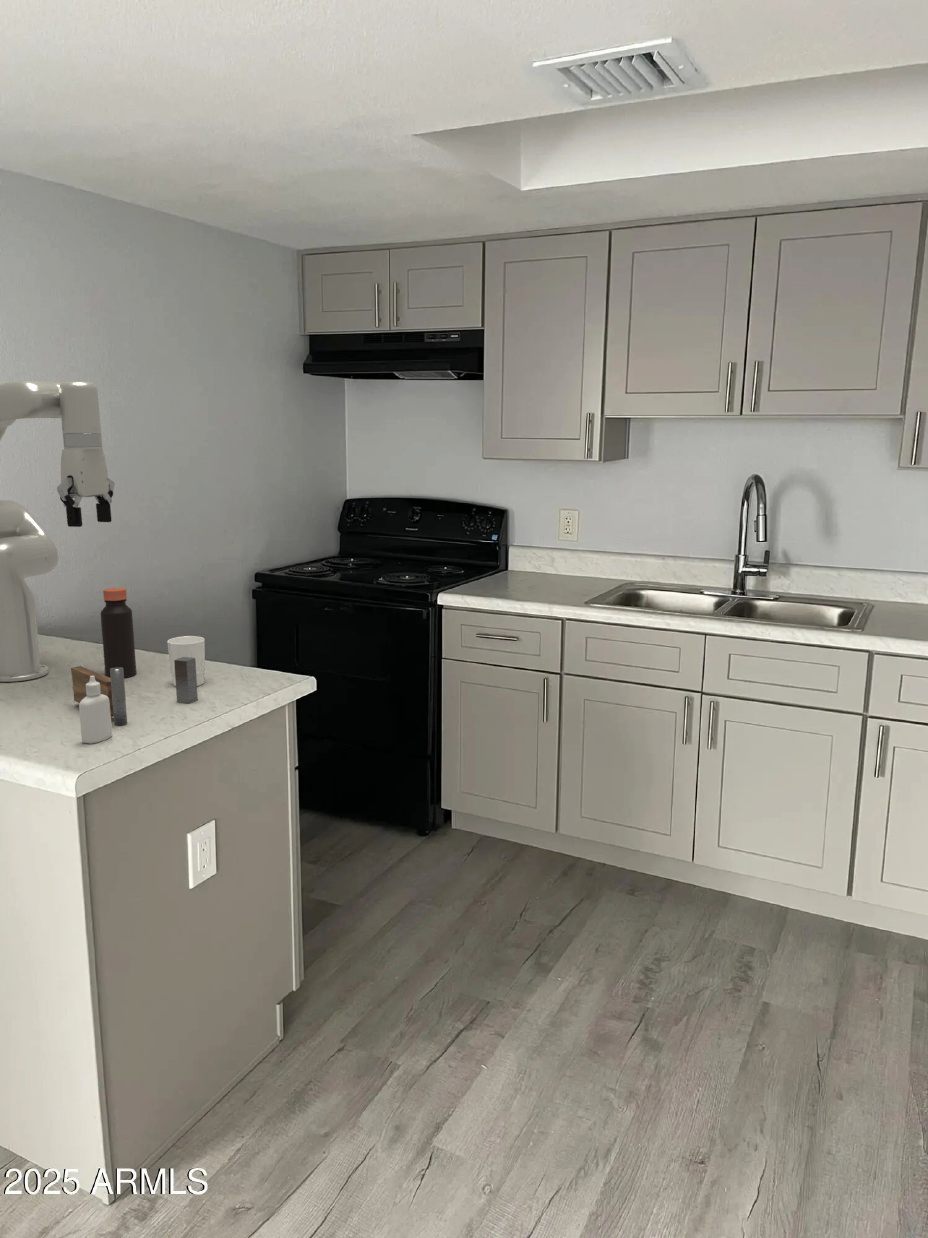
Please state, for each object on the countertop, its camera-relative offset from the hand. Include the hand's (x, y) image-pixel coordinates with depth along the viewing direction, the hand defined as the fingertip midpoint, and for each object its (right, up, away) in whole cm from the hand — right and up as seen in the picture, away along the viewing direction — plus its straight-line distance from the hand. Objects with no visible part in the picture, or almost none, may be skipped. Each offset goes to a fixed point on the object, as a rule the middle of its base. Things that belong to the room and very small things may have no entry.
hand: (90, 524), depth 205 cm
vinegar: (+1, -33, +17) cm, 37 cm away
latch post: (+22, -37, -4) cm, 43 cm away
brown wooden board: (+6, -38, -12) cm, 40 cm away
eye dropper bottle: (+12, -42, -28) cm, 52 cm away
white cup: (+18, -35, +10) cm, 40 cm away
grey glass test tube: (+13, -40, -19) cm, 46 cm away
